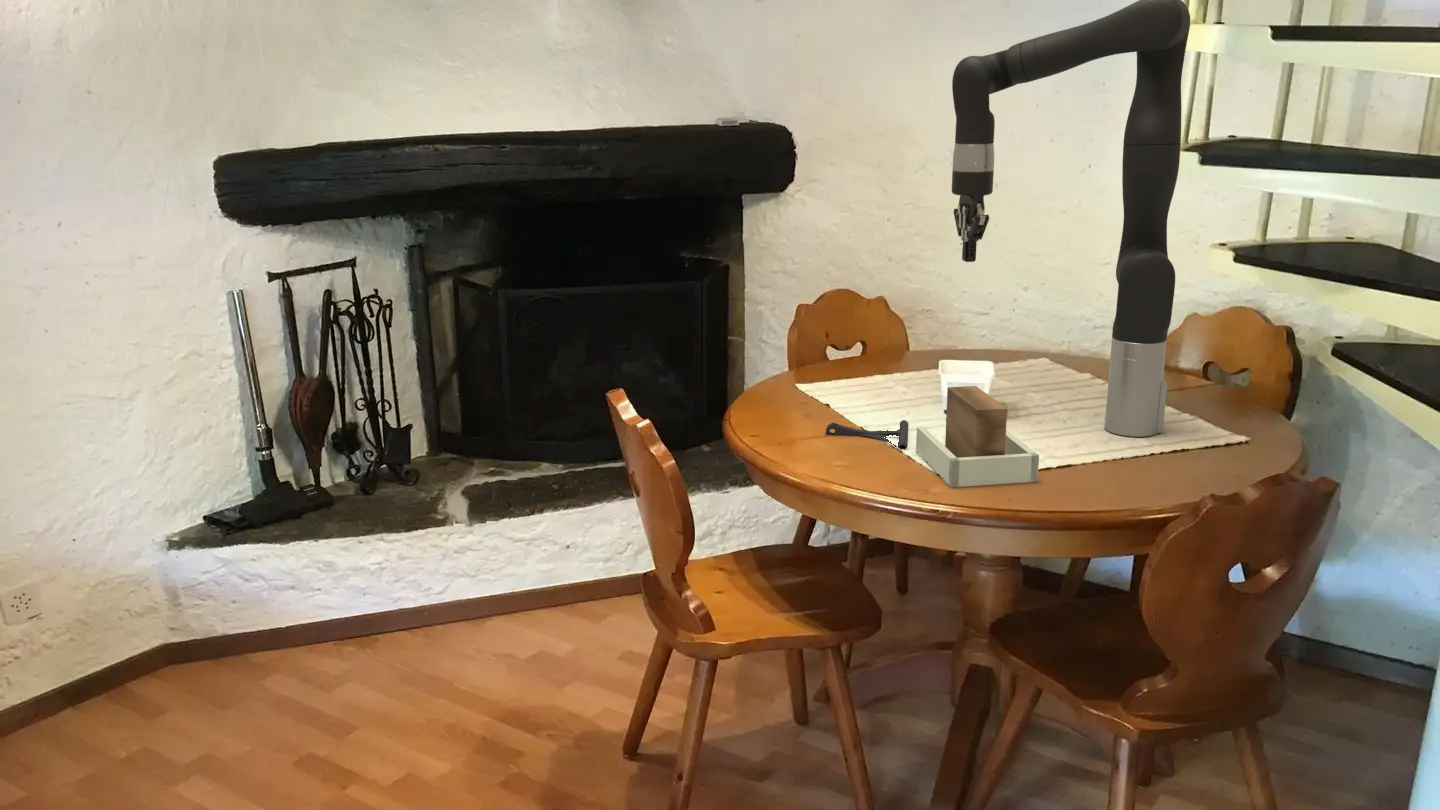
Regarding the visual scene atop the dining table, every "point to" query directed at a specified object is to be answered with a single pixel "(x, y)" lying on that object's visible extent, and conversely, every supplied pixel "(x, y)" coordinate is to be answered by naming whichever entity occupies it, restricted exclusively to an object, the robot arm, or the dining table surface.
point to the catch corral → (979, 463)
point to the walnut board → (974, 423)
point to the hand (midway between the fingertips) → (968, 261)
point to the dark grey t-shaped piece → (871, 433)
